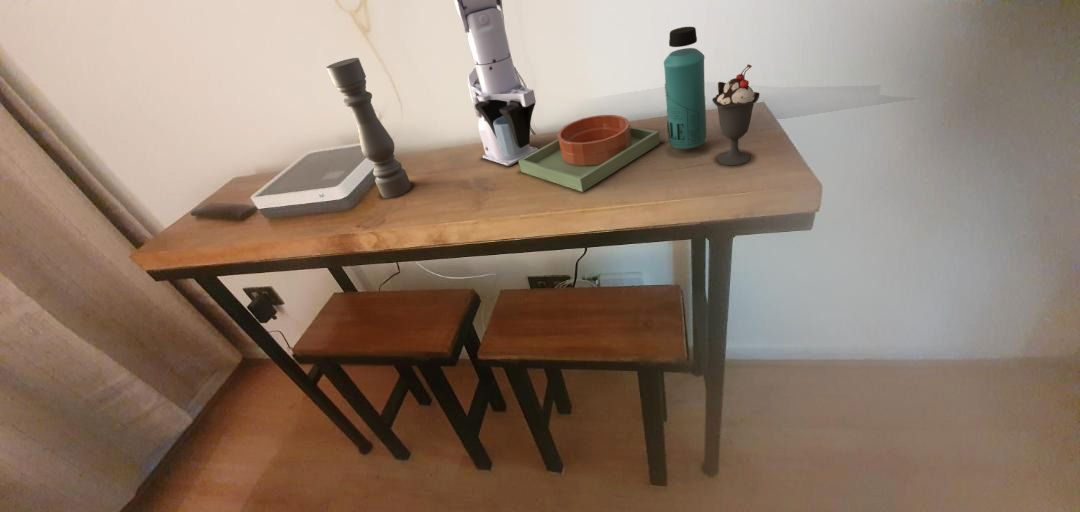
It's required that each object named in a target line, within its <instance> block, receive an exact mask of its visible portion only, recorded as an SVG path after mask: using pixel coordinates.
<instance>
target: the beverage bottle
mask: <svg viewBox="0 0 1080 512" xmlns="http://www.w3.org/2000/svg"><path fill="white" fill-rule="evenodd" d="M668 40H669V41H668V46H669V47H672V48H680V49H676V50H674V51H671V52H669V54H668V55H667V56H666V58H665V59H664V61H663V67H664V91H665V92H664V94H665V95H664V97H665V100H666V116H667V117H666V118H667V120H666V121H667V122H666V123H667V124H666V128H667V129H666V130H667V139H668V142H669V145H670V146H671V147H672V148H675V149H681V150H687V149H688V150H689V149H694V148H697V147H700V146H701V145H704V143H705V142H706V139H707V133H708V132H707V131H708V128H707V126H708V125H707V124H708V123H707V107H706V94H705V90H706V89H705V59H706V57H705V55H704V54H703V52H701V51H700V49H698V48H695V47H688V46H692V45H693V44H695V43H697V42H698V36H697V30H696V27H695V26H683V27H677V28H675V29H672V30H670V31H669V39H668ZM682 47H685V48H682Z"/></svg>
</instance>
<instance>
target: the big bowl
mask: <svg viewBox="0 0 1080 512" xmlns="http://www.w3.org/2000/svg"><path fill="white" fill-rule="evenodd" d="M630 127H631V123H630V121H629V119H628V118H626V117H624V116H621V115H617V114H600V115H598V114H597V115H591V116H588V117H583V118H580V119H577V120H574V121H572V122H570V123H568V124H566V125H564V126H563V127H562V128H561V129H560V130H559V131H558V133H557V139H558V141H559V145H560V151H561V156H562V159H563V160H564V161H565V162H567V163H569V164H573V165H580V166H589V165H598V164H602V163H604V162H606V161H607V160H609V159H611V158H612V157H614V156H615V155H617V154H619V153H620V152H622V151H624V150H625V149H627V148H629V147H630V146H632V140H631V131H630Z"/></svg>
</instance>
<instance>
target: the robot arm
mask: <svg viewBox="0 0 1080 512" xmlns="http://www.w3.org/2000/svg"><path fill="white" fill-rule="evenodd" d="M453 1H454V2H453V3H454V5H455V8H456V11H457V14H458V16H459V18H460V20H461V23H462V27H463V29H464V32H465V33H466V35H467V36H466V38H467V42H468V45H469V50H470V52H471V56H472V59H473V63H474V66H473V67H472V69H471V71H470V72H469V73H468V75H467V79H466V80H467V81H466V82H467V85H468V92H469V95H470V99H471V102H472V106H473V109H474V112H475V115H476V117H478V118H479V119H478V122H477V123H478V125H477V127H478V129H477V130H478V132H479V136H480V140H481V143H482V146H483V151H484V153H485V154H483V155H482V158H483V159H486V160H488V161H491V162H494V163H497V164H501V165H503V166H507V167H511V166H513V165H514V164H517V162H518V163H519V161H518V160H520V159H522V158H524V157H526V156H528V155H529V154H531V153H533V152H535V151H537V150H539V149H538V148H537V147H534V146H531V145H530V143H531V122H532V117H533V112H534V110H535V106H536V103H537V100H536V97H535V95H536V94H535V91H534V89H532V88H527V87H526V86H524V85H523V84H522V82H521V79H520V76H519V74H518V71H517V67H515V65H514V63H513V62H514V61H513V58H512V54H511V48H510V43H509V40H508V35H507V31H506V27H505V22H504V19H503V18H504V17H503V15H502V11H501V10H502V9H503V0H453ZM498 7H499V8H500V9H501V10H500V9H498ZM501 116H504V117H505V119H506V121H507V122H508V124H509V126H510V128H511V131H512V134H513V137H514V140H515V142H516V144H517V146H518V147H519V148H522V147H524V146H526V145H528V144H529V149H528V150H527V151H526V152H524V153H523V154H520V155H517V156H504V155H503V153H502V152H501V151H500V148H499V144H498V140H497V137H496V133H495V129H494V126H493V122H494V121H495V120H496V119H497V118H499V117H501Z"/></svg>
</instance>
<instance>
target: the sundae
mask: <svg viewBox="0 0 1080 512" xmlns="http://www.w3.org/2000/svg"><path fill="white" fill-rule="evenodd" d="M752 66H753V65H751V64H747V65H746V67H744V69H742V72H741V73H739V74H737V75H736V76H735V78H734V77H733V78H731V79H730V80H728V81H727V82H723V81H719V82H717V90H718V91H717V93H718V94H716V95H715V97H713V98H711V100H712V103H713V104H714V105H715V106H716V108H717V114H718V120H719V127H720V131H721V134H722V135H723V136H724V137H726V138H727V139H729V140H730V148H729V151H727V152H724V153H721V154H720V155H719V156H718V157H717V162H718V163H720V164H721V165H725V166H740V165H741V166H742V165H745V164H746V163H748V162H750V160H751V159H752V158H751V154H749V153H748V152H746V151H742V150H741V151H740V150H739V149H740V148H739V140H740V139H741V138H742V137H744V136H745V135H746V134H747V133H748V131H749V128H750V124H751V119H752V115H753V109H754V106H755V105H754V104H756V103H757V102H758V101H759V99H760V95H761V93H760V92H756V91H754V90H753V89H752V87H750V86H749V85H750V84H749V83H750V82H749V80H748V79H746V78H745V75H746V73H747V71H748V70H750V69H751V68H752Z"/></svg>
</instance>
